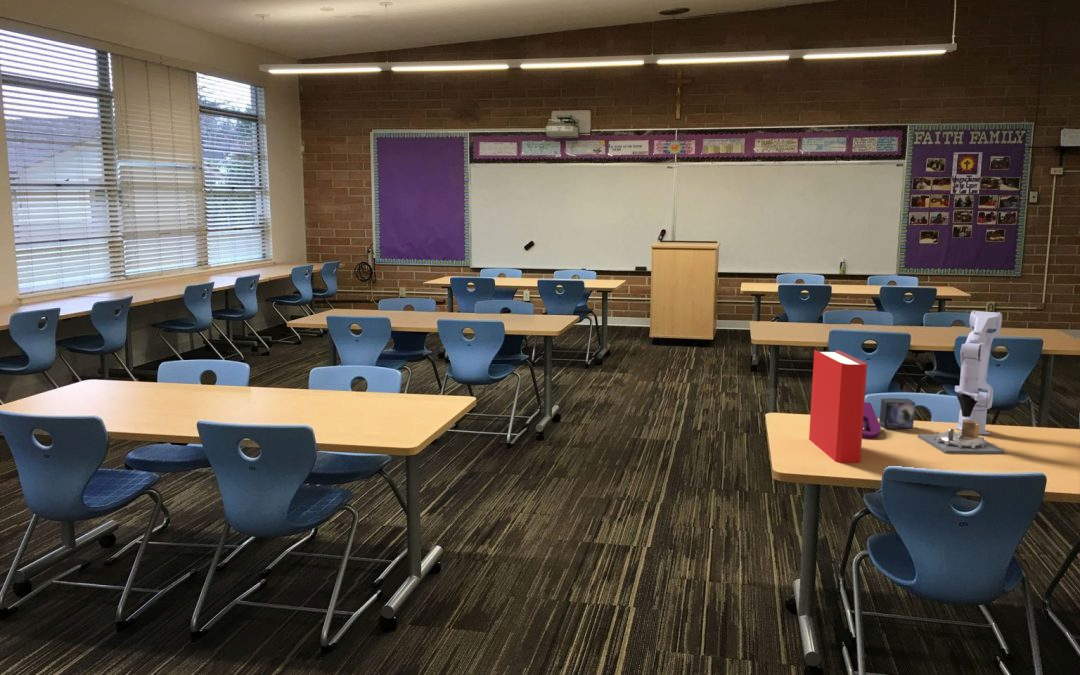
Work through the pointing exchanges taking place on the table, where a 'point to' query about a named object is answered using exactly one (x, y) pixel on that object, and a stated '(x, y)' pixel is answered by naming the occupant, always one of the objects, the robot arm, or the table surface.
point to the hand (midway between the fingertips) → (966, 416)
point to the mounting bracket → (870, 422)
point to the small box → (897, 413)
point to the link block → (968, 428)
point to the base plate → (964, 450)
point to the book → (838, 405)
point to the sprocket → (959, 439)
